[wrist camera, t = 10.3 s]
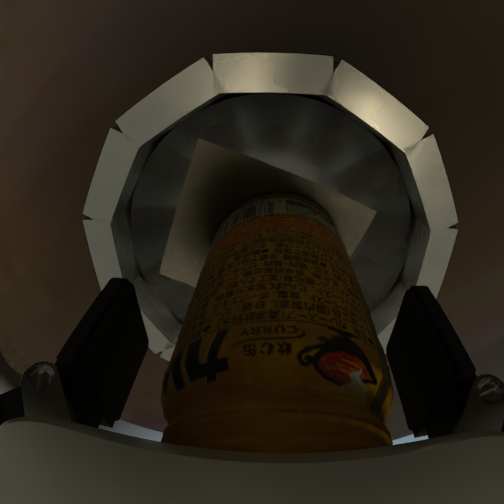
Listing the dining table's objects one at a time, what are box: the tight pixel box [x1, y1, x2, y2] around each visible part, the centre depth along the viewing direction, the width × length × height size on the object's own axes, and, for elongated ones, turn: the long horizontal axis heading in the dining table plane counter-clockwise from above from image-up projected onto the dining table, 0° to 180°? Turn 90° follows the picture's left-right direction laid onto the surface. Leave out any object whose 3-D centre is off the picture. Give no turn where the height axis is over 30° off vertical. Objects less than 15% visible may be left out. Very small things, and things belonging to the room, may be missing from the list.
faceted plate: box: [83, 53, 458, 361], centre depth 14 cm, size 17×17×2 cm
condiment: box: [159, 138, 393, 453], centre depth 9 cm, size 7×8×12 cm
